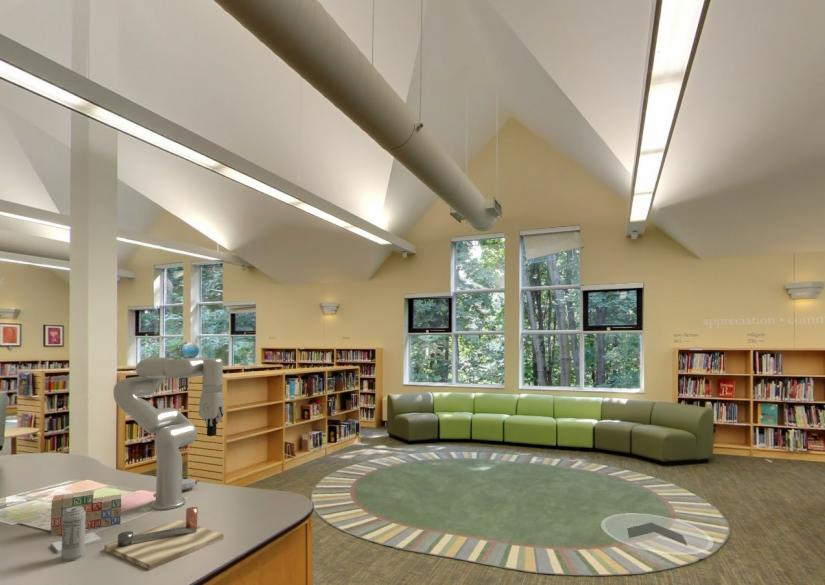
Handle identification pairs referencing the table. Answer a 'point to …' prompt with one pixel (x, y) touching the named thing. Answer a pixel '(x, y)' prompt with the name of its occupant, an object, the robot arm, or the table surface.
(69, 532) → the energy drink can
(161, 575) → the table surface
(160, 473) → the robot arm
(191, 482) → the robot toy
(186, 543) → the board
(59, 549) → the external hard drive
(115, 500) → the stack of blocks
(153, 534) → the lever
